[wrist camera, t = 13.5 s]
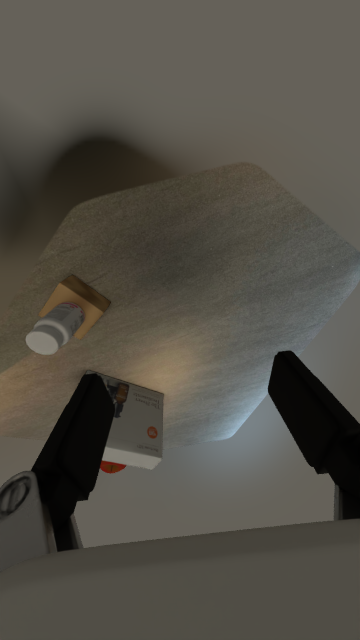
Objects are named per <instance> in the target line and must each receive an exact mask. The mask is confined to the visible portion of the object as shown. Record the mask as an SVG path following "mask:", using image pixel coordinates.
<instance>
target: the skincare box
mask: <svg viewBox="0 0 360 640" xmlns="http://www.w3.org/2000/svg"><path fill="white" fill-rule="evenodd" d="M92 373H96V372H93V371H90V370H87V372H86V374H92ZM97 374H98V376H99V375H100V376H101V377H102V379H103V382H104V384H105V386H106V388H107V390H108V392H109V394H110V397H111V399H112V401H113V403H114V405H115V414H114V418H113V421H112V425H111V429H110V432H109V436H108V440H107V443H106V447H105V451H104V454H103V458H102V460H103V461H109V462H114V463H119V464H125V465H130V466H135V467H140V468H146V469H154V467H155V466H156V465H157V464H158V463H159V462H160V461H161V460H162V443H163V396H164V395H163V394H161V393H158V392H154V391H151V390H148V389H145V388H142V387H139V386H136V385H133V384H130V383H127V382H124V381H121V380H118V379H114V378H111V377H108V376H105V375H102V374H99V373H97Z"/></svg>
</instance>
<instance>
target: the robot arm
mask: <svg viewBox="0 0 360 640" xmlns="http://www.w3.org/2000/svg"><path fill="white" fill-rule="evenodd" d="M268 393H269V395H270V397H271V399H272V401H273V402H274V404H275V406H276V408H277V409H278V411H279V413H280V415H281V416H282V418H283V420H284V422H285V424H286V425H287V427H288V429H289V431H290V433H291V434H292V436H293V438H294V440H295V441H296V443H297V445H298V447H299V449H300V450H301V452H302V453H303V456H304V458H305V459H306V461H307V462H308V464H309V465H310V466H311V467H314V469H315V471H316V472H317V474H324V473H329V475H330V476H331V478H332V480H333V481H334V483H335V493H334V521H324V522H313V523H304V524H293V525H284V526H274V527H265V528H255V529H247V530H237V531H228V532H219V533H210V534H201V535H192V536H183V537H173V538H164V539H156V540H147V541H138V542H130V543H121V544H113V545H104V546H97V547H89V548H83V545H82V541H81V538H80V534H79V531H78V527H77V524H76V520H75V516H74V509H75V506H76V503H77V501H83V500H88V497H89V493H90V492H91V491H92V490H93V489H94V487H95V483H96V480H97V476H98V472H99V469H100V465H101V462H102V458H103V454H104V451H105V447H106V443H107V440H108V436H109V432H110V429H111V425H112V421H113V418H114V414H115V405H114V403H113V401H112V399H111V397H110V394H109V392H108V390H107V388H106V386H105V384H104V382H103V379H102V377H101V376H100V375H99V376H98V374H97V373H92V374H85V375H83V377H82V379H81V381H80V382H79V384H78V386H77V388H76V390H75V392H74V394H73V395H72V397H71V399H70V401H69V403H68V404H67V405H66V407H65V408H64V410H63V412H62V414H61V416H60V418H59V419H58V421H57V423H56V425H55V427H54V429H53V431H52V432H51V434H50V436H49V438H48V440H47V442H46V443H45V445H44V447H43V449H42V451H41V453H40V455H39V456H38V458H37V460H36V462H35V464H34V466H33V467H32V469H31V471H23V472H20V473H18V474H16V475H15V476H13V477H11V478H10V479H9V480H8V481H7V482H5V483H4V484H3V485H2V486H1V488H0V640H360V424H359V423H358V422H357V420H356V419H355V418H354V417H353V416H352V415H351V414H350V413H349V412H348V411H347V410H346V408H345V407H344V406H343V405H342V404H341V403H340V402H339V401H338V400H337V399H336V398H335V397H334V395H333V394H332V393H331V392H330V391H329V390H328V389H327V388H326V387H325V386H324V384H322V382H321V381H320V380H319V379H318V378H317V377H316V376H314V375H313V374H312V372H311V371H310V370H309V369H308V368H307V367H306V366H305V365H304V364H303V363H302V362H301V360H300V359H299V358H298V357H297V356H296V355H295V354H294V353H293V352H292V351H281V352H278V354H277V355H275V357H274V362H273V366H272V371H271V376H270V380H269V385H268Z"/></svg>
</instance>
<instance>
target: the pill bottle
mask: <svg viewBox="0 0 360 640" xmlns="http://www.w3.org/2000/svg"><path fill="white" fill-rule="evenodd" d="M84 320H85V314H84V312H83V310H82V309H81V308H80V307H79V306H78V305H76V304H74V303H70V302H64V303H61V304H59V305H57V306H56V307H55V308H54V309H53V310H51V311H50V312H49V313H48V314H46V315H45V316H44V317H43V318H42V319H40V320H39V321H38V322H37V323H36V324H35V326H34V329H33V330H32V331H31V332H30V333H29V334H28V335H27V336H26V343H27V345H28V346H29V348H31V349H32V350H33V351H35V352H37V353H39V354H43V355H50V354H53V353H55V352H56V351H57V350H58V349H59V348H60V347H61V346H62V345H65V344H66V343H67V342H68V341H69V340H70V339H71V337H72V336H73V335H74V334H75V332H76V331H77V330H78V329H79V327H80V326H81V325H82V323H83V322H84Z"/></svg>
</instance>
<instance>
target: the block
mask: <svg viewBox="0 0 360 640" xmlns="http://www.w3.org/2000/svg"><path fill="white" fill-rule="evenodd" d="M64 302H70V303H74V304H76V305H78V306H79V307H80V308H81V309H82V310H83V312H84V314H85V320H84V322H83V323H82V325H81V326H80V327H79V329H78V330H77V331H76V332H75V334H74V335H73V336H75V337H76V338H78V339H80V340H81V339H82V338H83V337H84V336H85V334H86V333H87V332H88V331H89V330H90V329H91V327H92V326H93V325H94V324H95V323H96V321H97V320H98V319H99V318H100V317H101V316H102V314H103V313H104V312H105V310H106V309H107V307H108V306H109V304H110V303H111V302H110V301H109V300H107V299H106V298H104V297H103V296H102V295H100V294H99V293H97V292H96V291H95V290H93V289H92V288H90V287H89V286H88V285H86V284H85V283H83V282H82V281H81V280H79V279H78V278H76V277H75V276H74V275H72V276H70V277H68V278H67V279H65V280H63V281H62V282H60V283H59V284H58V286H57V287H56V289H55V290H54V292H53V293H52V295H51V296H50V298H49V299H48V301H47V302H46V304H45V305H44V307H43V308H42V310H41V311H40V313H39V314H38V316H40V317H42V318H43V317H44V316H45V315H46V314H48V313H49V312H50V311H51V310H53V309H54V308H55V307H56V306H57V305H59V304H61V303H64Z"/></svg>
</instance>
